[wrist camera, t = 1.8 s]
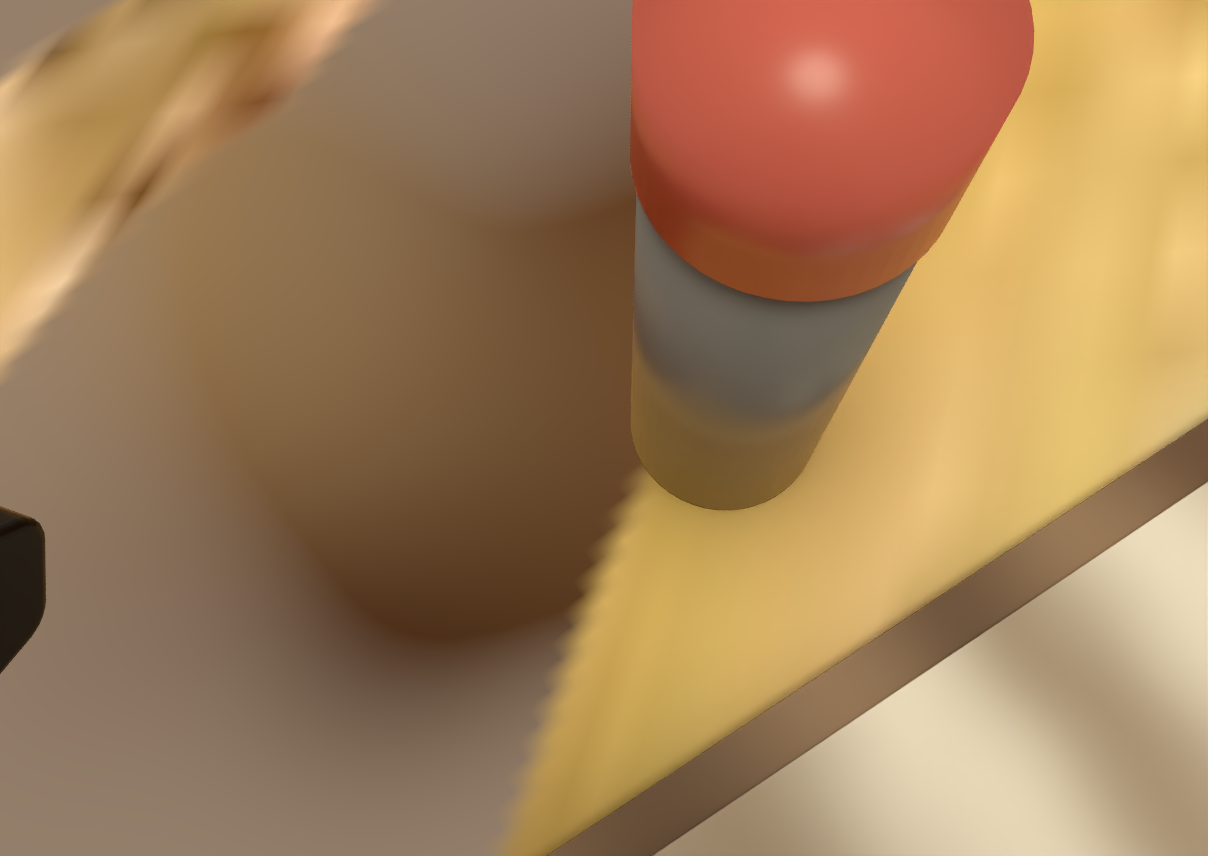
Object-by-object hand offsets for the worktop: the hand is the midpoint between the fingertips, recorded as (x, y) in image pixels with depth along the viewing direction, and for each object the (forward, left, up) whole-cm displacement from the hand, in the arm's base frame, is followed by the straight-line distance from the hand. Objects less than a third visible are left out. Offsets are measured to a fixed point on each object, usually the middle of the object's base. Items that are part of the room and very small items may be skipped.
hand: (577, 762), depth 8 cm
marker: (+6, +5, -13) cm, 16 cm away
